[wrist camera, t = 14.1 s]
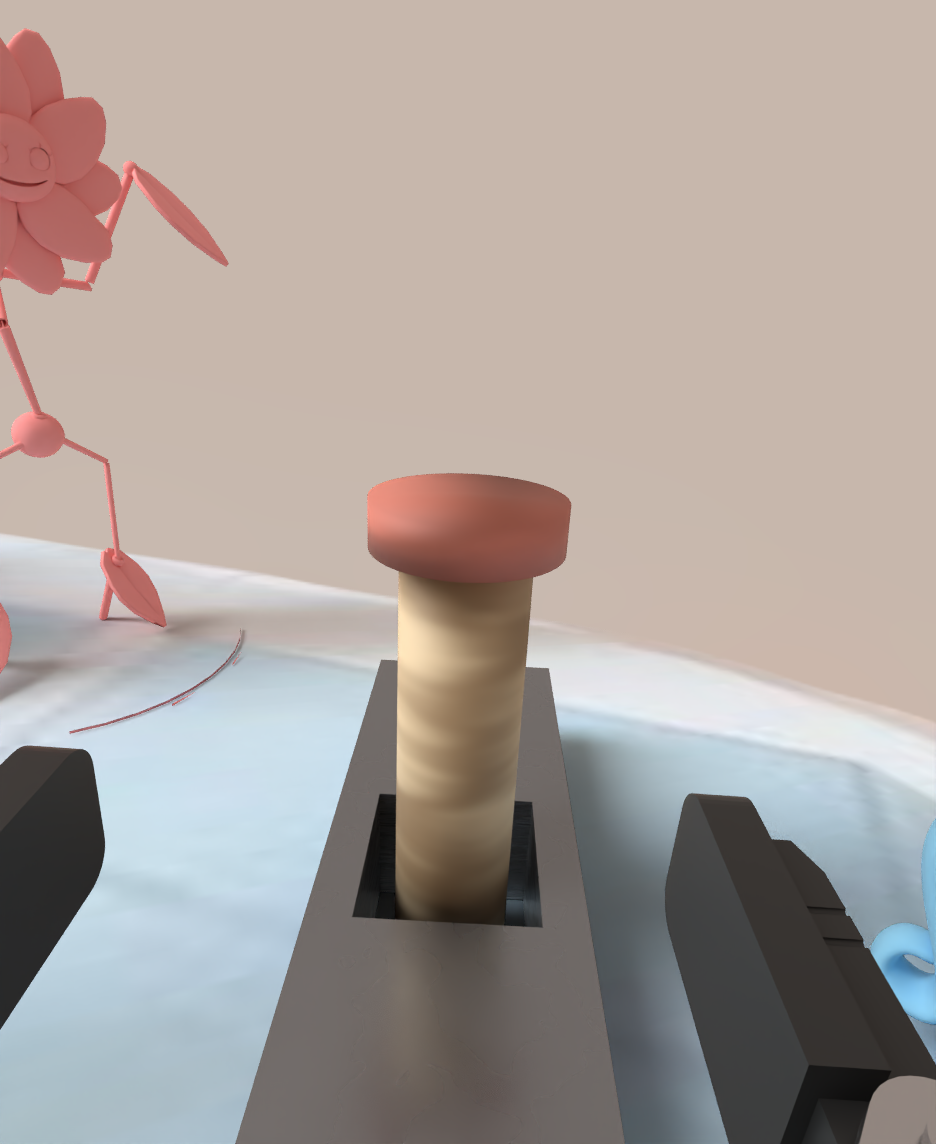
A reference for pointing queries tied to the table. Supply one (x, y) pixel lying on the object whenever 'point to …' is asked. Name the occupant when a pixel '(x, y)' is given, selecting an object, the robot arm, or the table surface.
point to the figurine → (67, 253)
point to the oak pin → (461, 676)
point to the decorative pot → (913, 947)
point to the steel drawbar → (441, 979)
